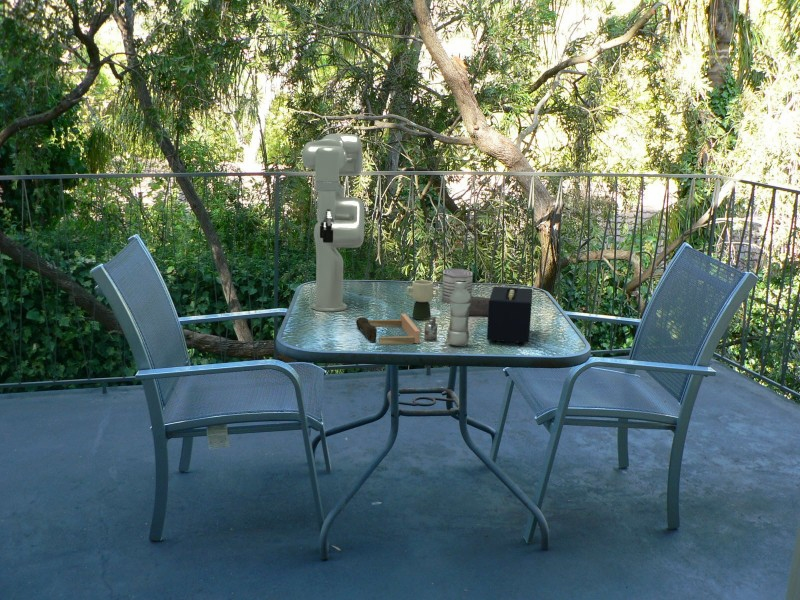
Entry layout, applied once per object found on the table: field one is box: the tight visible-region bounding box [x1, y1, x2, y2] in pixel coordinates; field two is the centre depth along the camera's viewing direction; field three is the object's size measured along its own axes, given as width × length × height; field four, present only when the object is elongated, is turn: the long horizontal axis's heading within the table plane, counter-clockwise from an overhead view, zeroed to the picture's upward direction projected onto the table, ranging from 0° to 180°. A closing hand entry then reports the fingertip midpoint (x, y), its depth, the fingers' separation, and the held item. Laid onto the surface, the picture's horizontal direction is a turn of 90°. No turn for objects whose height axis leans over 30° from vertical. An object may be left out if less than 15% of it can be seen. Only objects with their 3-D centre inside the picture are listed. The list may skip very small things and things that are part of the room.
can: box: [441, 268, 474, 305], centre depth 315 cm, size 11×11×12 cm
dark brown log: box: [355, 316, 378, 344], centre depth 264 cm, size 19×4×5 cm, turn 12°
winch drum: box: [423, 316, 439, 342], centre depth 260 cm, size 6×4×8 cm, turn 11°
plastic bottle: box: [446, 280, 471, 347], centre depth 255 cm, size 6×7×20 cm
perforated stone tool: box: [469, 295, 490, 317], centre depth 296 cm, size 15×5×7 cm, turn 91°
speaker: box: [486, 286, 533, 346], centre depth 266 cm, size 22×13×15 cm, turn 170°
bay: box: [368, 319, 415, 345], centre depth 266 cm, size 23×11×2 cm, turn 11°
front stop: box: [400, 313, 421, 345], centre depth 267 cm, size 23×2×4 cm, turn 11°
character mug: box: [406, 279, 439, 320], centre depth 287 cm, size 11×7×13 cm, turn 88°
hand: (326, 240), depth 269 cm, fingers open, 9 cm apart
